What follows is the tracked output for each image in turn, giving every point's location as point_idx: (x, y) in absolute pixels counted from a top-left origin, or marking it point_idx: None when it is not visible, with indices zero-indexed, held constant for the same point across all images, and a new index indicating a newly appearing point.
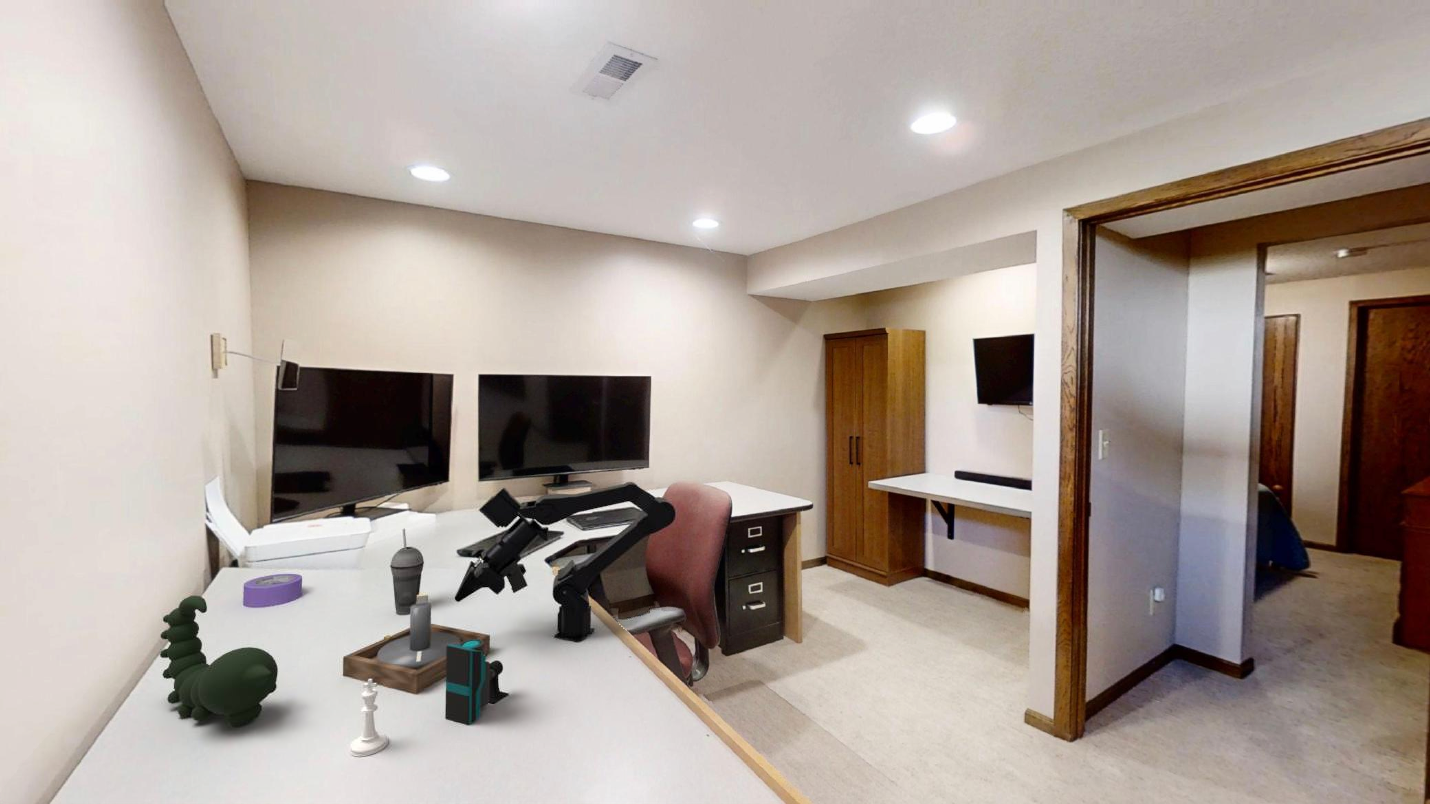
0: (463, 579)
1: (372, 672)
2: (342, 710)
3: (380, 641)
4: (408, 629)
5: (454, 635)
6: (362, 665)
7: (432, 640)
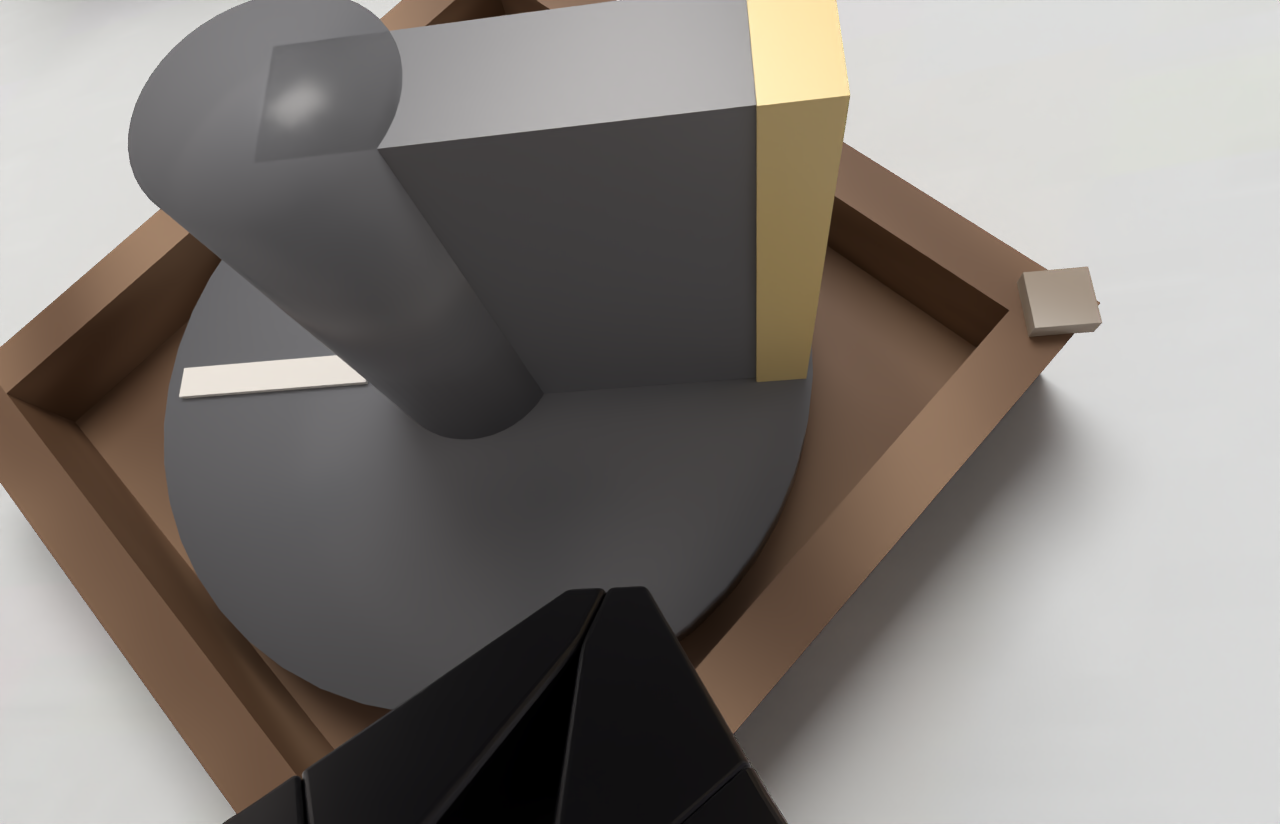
0: (624, 816)
1: None
2: (113, 127)
3: None
4: (909, 207)
5: None
6: None
7: (585, 445)
